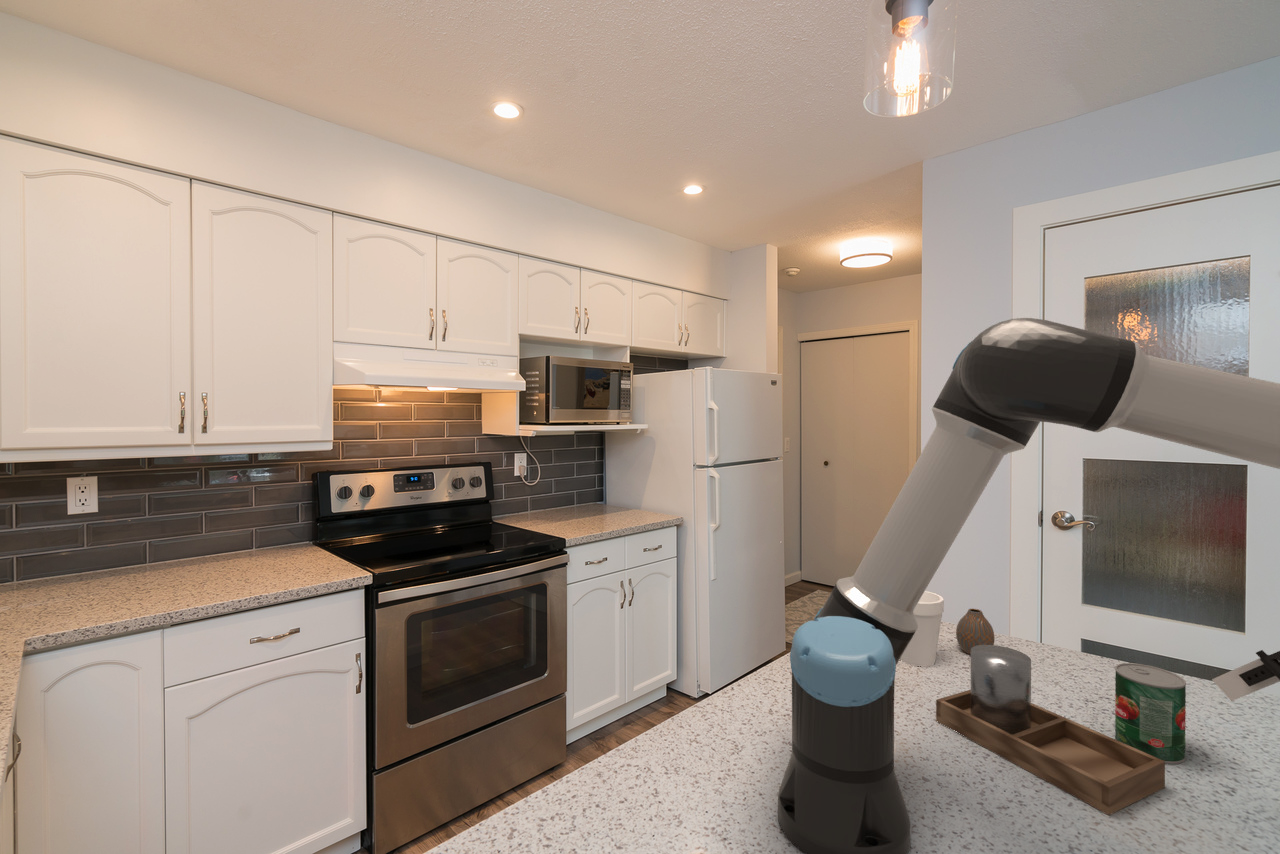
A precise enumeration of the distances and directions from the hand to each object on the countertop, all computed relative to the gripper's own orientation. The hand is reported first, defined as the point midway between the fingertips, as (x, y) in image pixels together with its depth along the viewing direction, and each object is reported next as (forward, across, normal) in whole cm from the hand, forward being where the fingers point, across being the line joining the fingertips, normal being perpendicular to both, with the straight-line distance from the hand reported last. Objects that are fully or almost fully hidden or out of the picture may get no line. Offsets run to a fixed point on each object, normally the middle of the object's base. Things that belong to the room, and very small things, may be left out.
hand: (1248, 679), depth 76 cm
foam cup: (+44, -5, +23) cm, 50 cm away
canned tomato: (+18, 0, -3) cm, 18 cm away
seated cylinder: (+27, -15, +6) cm, 31 cm away
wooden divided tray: (+22, -15, +2) cm, 27 cm away
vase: (+42, +9, +21) cm, 48 cm away
